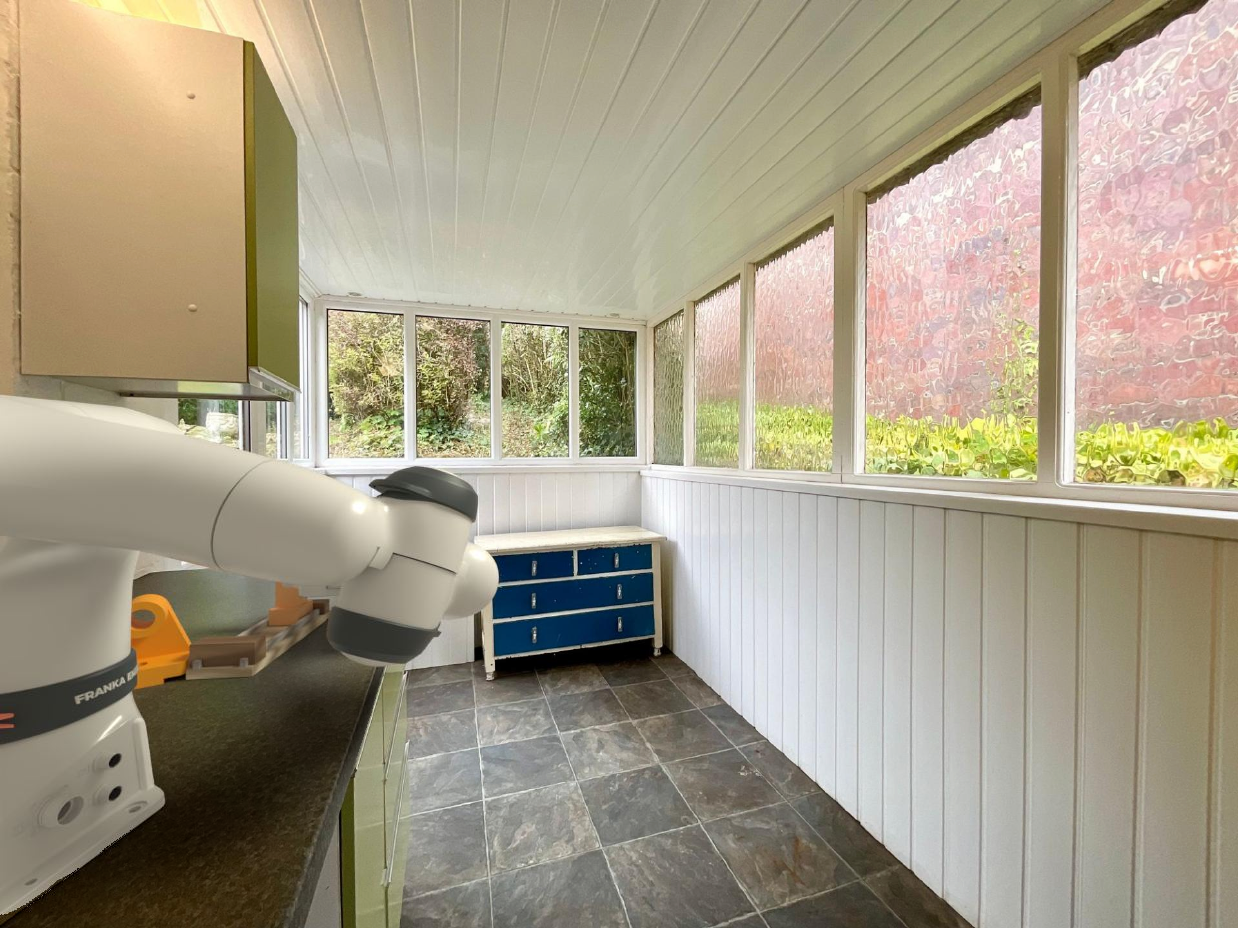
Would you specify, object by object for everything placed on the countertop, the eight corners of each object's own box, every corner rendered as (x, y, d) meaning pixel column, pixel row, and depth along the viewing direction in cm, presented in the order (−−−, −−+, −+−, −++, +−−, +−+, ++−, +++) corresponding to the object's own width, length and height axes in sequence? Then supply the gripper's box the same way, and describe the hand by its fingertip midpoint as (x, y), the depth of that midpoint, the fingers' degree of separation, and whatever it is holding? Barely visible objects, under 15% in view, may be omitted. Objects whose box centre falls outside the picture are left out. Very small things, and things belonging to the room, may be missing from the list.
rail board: (252, 676, 74) (252, 643, 74) (185, 679, 72) (185, 646, 72) (330, 617, 100) (330, 593, 100) (282, 619, 99) (282, 594, 99)
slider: (297, 624, 91) (298, 556, 91) (268, 625, 90) (268, 556, 90) (312, 614, 97) (313, 550, 97) (285, 615, 96) (286, 550, 96)
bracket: (82, 699, 66) (82, 613, 66) (97, 679, 72) (97, 599, 72) (186, 679, 73) (186, 600, 72) (192, 662, 78) (192, 589, 78)
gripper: (351, 605, 86) (266, 607, 84) (388, 576, 106) (320, 577, 104) (351, 570, 86) (266, 571, 84) (388, 547, 106) (320, 548, 104)
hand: (296, 574), depth 94 cm, fingers open, 8 cm apart
